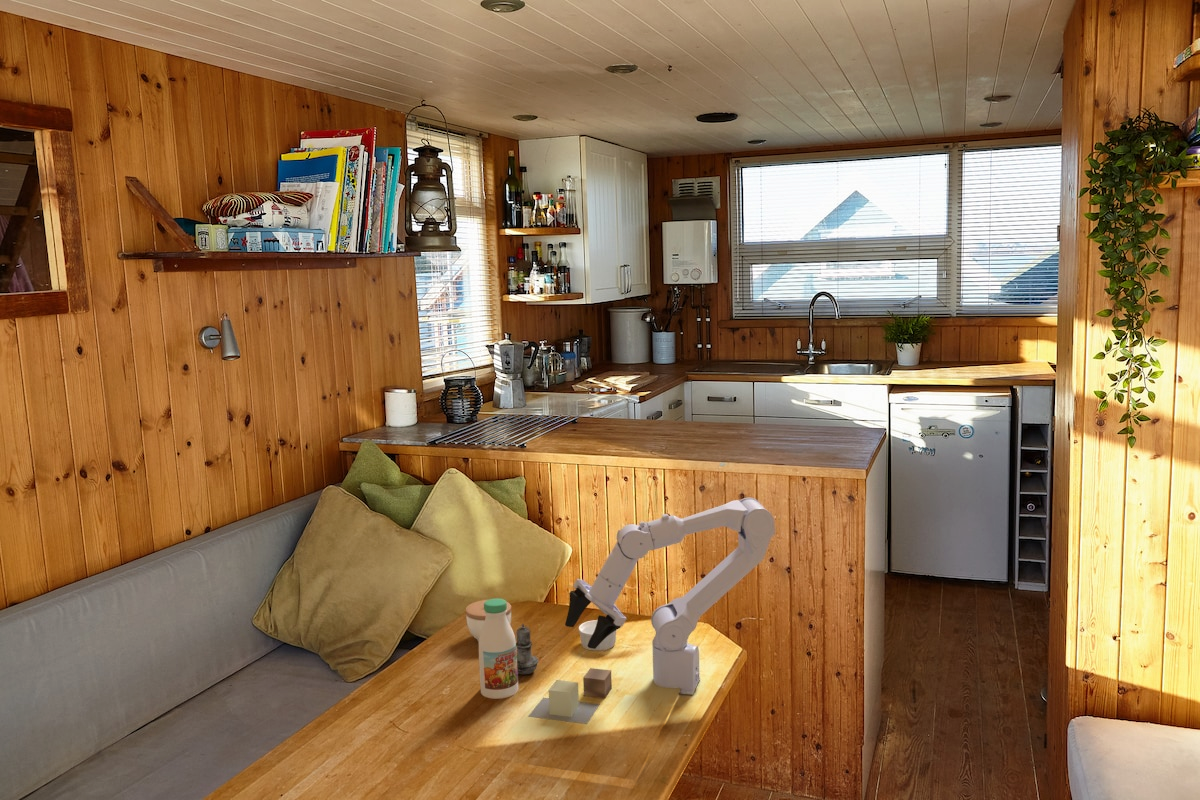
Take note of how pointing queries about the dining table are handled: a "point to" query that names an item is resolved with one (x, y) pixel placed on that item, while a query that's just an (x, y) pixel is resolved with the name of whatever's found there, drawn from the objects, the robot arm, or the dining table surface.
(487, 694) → the milk bottle
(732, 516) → the robot arm
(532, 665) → the grey chess piece
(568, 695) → the sage block
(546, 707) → the plate
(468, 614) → the lidded jar
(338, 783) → the dining table surface
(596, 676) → the walnut block
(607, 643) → the ramekin
